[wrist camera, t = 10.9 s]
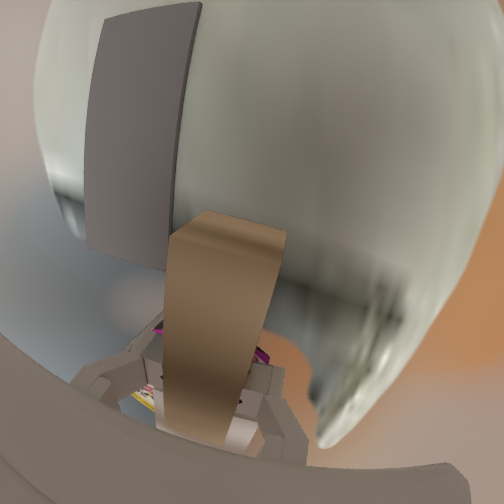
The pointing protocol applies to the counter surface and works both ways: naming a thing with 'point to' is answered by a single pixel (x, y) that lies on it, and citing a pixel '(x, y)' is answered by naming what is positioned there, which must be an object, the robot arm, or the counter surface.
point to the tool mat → (136, 131)
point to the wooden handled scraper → (214, 325)
